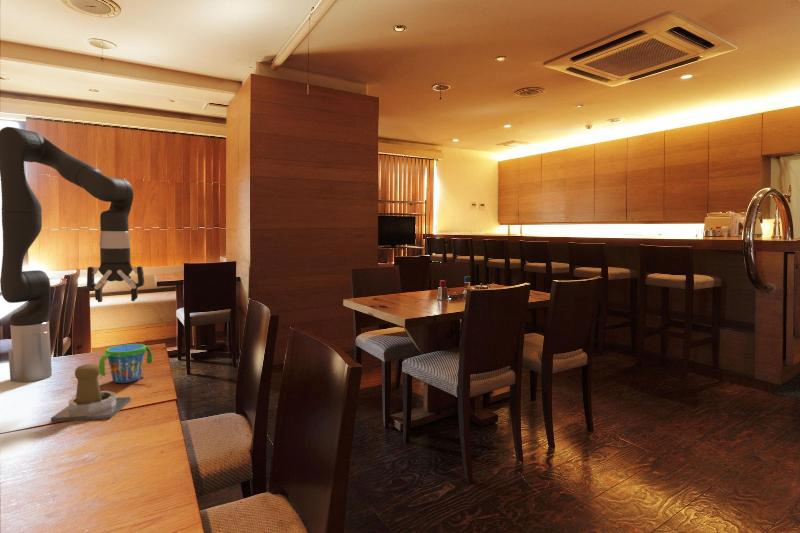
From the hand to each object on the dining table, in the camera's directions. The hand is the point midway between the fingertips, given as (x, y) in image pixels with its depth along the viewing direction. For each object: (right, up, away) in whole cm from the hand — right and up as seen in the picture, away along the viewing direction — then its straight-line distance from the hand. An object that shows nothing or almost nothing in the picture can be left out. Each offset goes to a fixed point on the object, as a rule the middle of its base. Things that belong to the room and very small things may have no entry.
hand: (116, 301), depth 136 cm
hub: (+6, -27, -19) cm, 33 cm away
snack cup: (0, -25, +5) cm, 25 cm away
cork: (+5, -26, -19) cm, 33 cm away
